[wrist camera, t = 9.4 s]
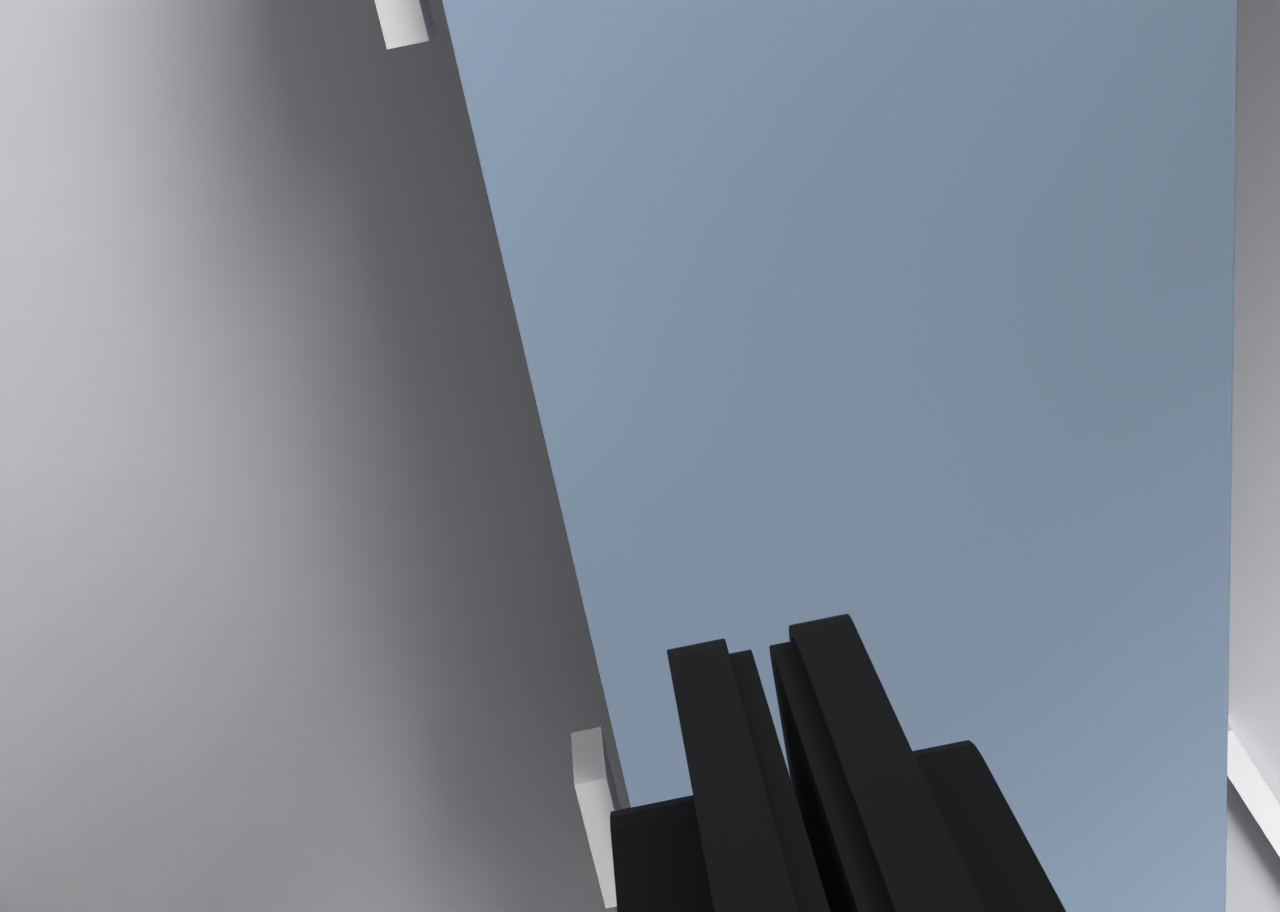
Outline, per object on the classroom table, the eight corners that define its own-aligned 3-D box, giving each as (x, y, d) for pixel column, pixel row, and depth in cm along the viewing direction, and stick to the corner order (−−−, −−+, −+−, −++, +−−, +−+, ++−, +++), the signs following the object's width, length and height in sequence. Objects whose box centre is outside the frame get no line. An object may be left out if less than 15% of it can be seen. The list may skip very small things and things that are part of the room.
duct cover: (268, -471, 16) (231, -533, 14) (1155, -645, 16) (1246, -731, 14) (632, 977, 26) (641, 1063, 24) (1171, 862, 26) (1225, 938, 24)
